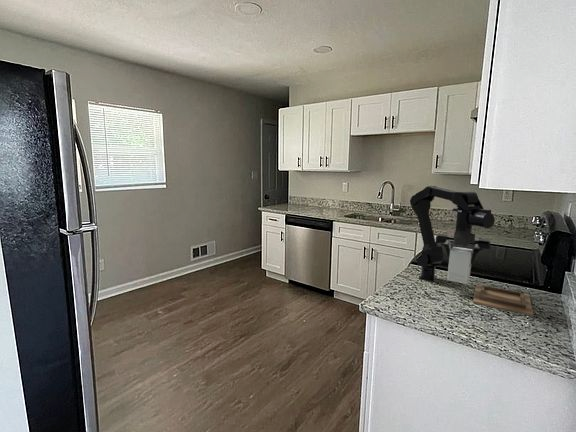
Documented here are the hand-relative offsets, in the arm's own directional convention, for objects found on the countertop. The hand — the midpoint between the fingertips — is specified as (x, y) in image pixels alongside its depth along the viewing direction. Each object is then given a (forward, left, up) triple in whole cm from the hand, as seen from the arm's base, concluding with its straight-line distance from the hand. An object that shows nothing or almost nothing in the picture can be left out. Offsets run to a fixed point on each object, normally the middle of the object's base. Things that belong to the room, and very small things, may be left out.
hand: (460, 261), depth 125 cm
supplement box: (0, 0, -8) cm, 8 cm away
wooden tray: (-2, +15, -13) cm, 20 cm away
